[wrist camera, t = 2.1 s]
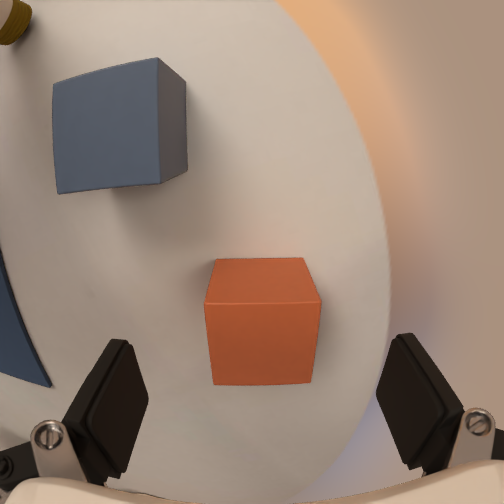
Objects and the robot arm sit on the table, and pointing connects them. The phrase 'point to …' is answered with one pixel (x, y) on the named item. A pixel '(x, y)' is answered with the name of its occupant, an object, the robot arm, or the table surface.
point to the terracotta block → (262, 321)
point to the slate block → (119, 127)
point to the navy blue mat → (16, 340)
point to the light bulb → (13, 20)
